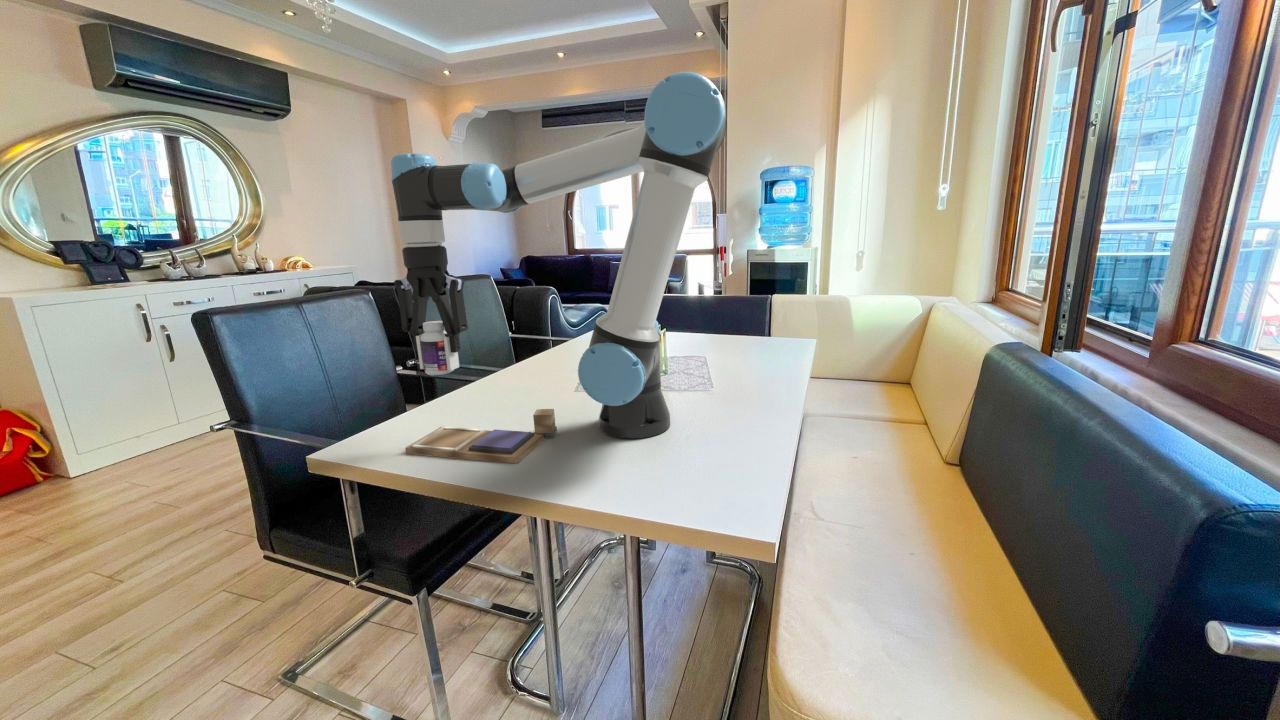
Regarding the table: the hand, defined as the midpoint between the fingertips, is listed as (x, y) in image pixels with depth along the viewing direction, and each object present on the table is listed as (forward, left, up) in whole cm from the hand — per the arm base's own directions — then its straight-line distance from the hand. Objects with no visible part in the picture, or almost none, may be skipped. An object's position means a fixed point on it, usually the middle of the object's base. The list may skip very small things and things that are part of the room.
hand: (439, 367), depth 100 cm
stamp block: (-17, -9, -16) cm, 25 cm away
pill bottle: (0, 0, -1) cm, 1 cm away
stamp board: (-6, 0, -16) cm, 17 cm away
